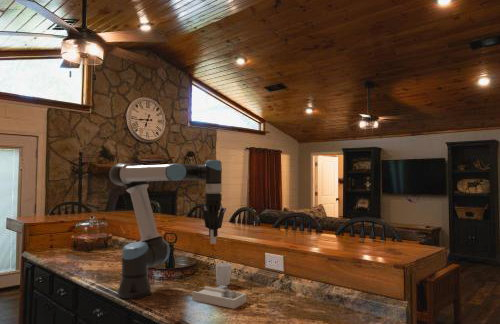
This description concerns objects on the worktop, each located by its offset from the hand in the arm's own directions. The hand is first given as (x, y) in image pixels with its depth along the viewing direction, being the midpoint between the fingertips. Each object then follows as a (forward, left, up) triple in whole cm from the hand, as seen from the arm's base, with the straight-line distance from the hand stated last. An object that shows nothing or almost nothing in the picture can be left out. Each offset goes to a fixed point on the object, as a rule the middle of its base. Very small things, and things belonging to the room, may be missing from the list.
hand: (213, 243), depth 175 cm
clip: (+11, -4, -24) cm, 27 cm away
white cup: (-7, +19, -25) cm, 32 cm away
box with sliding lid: (+6, -4, -24) cm, 26 cm away
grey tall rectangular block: (-1, +7, -24) cm, 25 cm away
